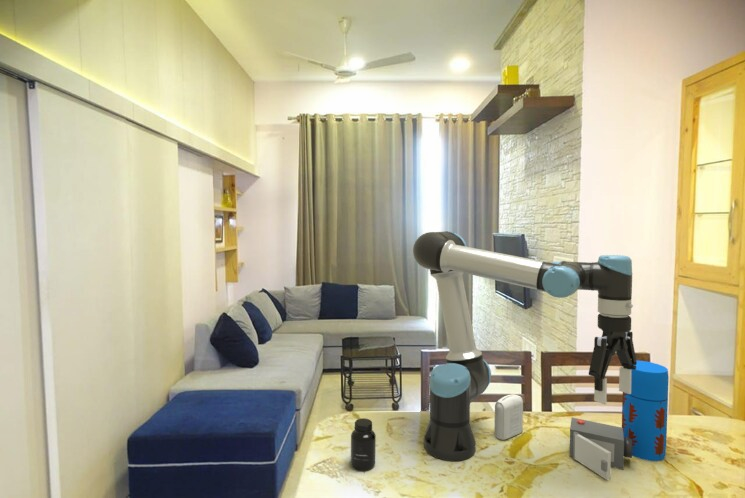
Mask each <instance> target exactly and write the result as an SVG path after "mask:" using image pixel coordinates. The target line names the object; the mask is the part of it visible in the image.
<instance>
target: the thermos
mask: <svg viewBox="0 0 745 498" xmlns="http://www.w3.org/2000/svg"><path fill="white" fill-rule="evenodd" d="M636 361H637V364H636V365H634V366H636V369H635V370H634V369H631V370H632V371H631V394H627V393H624V392H622V400H621V401H622V403H621V406H622V407H621V428H623V435H624V437H627V438H632V457H635V458H637V459H640V460H644V461H648V462H649V461H650V462H661V461H663V460H664V459H665V458H666V451H667V435H668V434H667V433H668V407H669V405H668V404H669V403H668V402H669V379H670V378H669V369H668V368H667V367H666V366H664V365H661V364H658V363H655V362H652V361H651V362H650V361H647V360H646V361H644V360H636Z"/></svg>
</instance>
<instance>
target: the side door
mask: <svg viewBox="0 0 745 498" xmlns="http://www.w3.org/2000/svg"><path fill="white" fill-rule="evenodd" d="M572 459H573V460H575V461H577V462H579V463H580V464H582V465H584V466H585V467H586V468H587V469H590V470H591V471H593V472H594V473H596V474H597V475H599V476H600V477H601V478H603V479H604V480H606V481H607V480H610V479H611V468H612V467H611V452H609V451H608V450H606V449H604V448H602V447H601V446H599V445H597V444H596V443H594V442H592V441H590V440H589V439H587V438H585V437H583V436H582V435H580V434H578V432H573V457H572Z"/></svg>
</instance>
